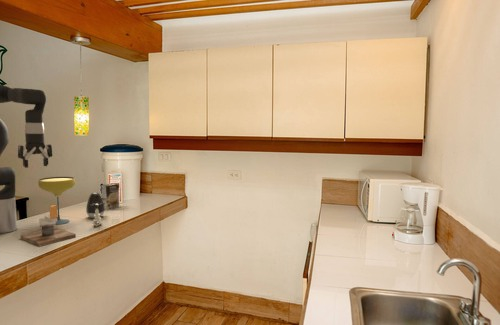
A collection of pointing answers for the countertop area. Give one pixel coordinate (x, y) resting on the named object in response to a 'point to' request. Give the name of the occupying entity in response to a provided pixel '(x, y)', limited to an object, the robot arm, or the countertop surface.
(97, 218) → the valve
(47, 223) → the coupling
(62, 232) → the base board
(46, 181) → the cocktail glass
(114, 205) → the coffee box
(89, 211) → the black egg-shaped body
